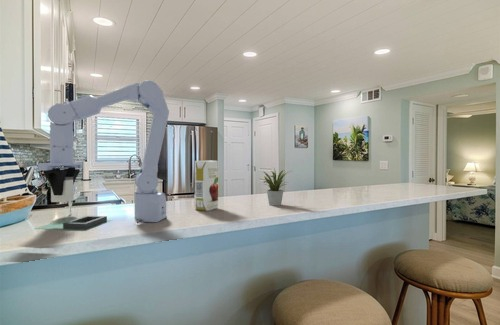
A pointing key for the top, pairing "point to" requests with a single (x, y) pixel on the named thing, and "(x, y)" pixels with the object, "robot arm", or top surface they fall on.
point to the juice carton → (206, 185)
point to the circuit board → (77, 223)
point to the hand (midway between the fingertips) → (62, 194)
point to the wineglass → (75, 194)
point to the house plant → (275, 188)
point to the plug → (64, 191)
